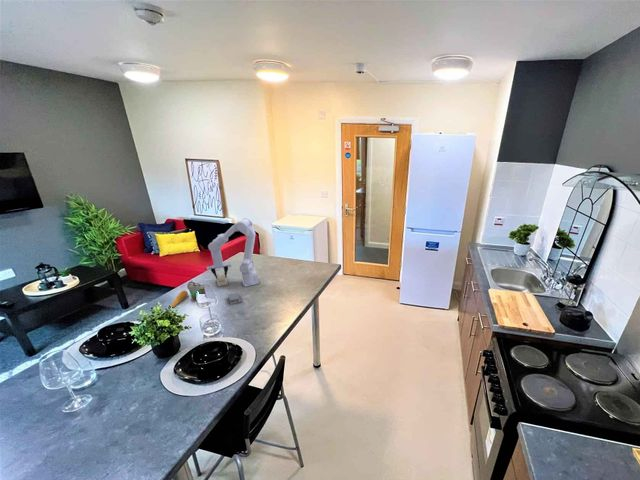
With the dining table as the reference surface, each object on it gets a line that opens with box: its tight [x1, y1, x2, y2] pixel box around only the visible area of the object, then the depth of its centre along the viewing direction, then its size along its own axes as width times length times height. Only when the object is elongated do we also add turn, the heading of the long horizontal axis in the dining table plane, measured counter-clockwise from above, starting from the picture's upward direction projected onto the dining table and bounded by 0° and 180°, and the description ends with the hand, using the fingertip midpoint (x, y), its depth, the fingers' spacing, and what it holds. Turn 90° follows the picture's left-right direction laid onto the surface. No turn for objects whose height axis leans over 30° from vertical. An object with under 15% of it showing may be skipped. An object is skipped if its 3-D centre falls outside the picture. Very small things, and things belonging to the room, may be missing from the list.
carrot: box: [170, 290, 189, 308], centre depth 170 cm, size 20×4×4 cm, turn 3°
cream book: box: [216, 272, 227, 281], centre depth 195 cm, size 5×8×2 cm, turn 30°
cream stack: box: [216, 278, 229, 287], centre depth 196 cm, size 6×9×3 cm, turn 30°
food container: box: [186, 280, 207, 302], centre depth 174 cm, size 12×6×10 cm, turn 62°
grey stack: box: [227, 292, 242, 305], centre depth 175 cm, size 6×9×3 cm, turn 30°
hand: (221, 277), depth 195 cm, fingers closed on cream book, 5 cm apart
